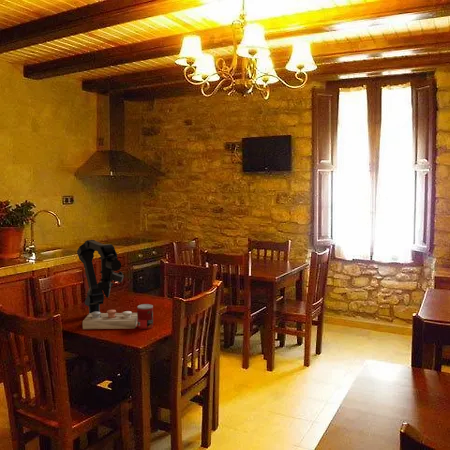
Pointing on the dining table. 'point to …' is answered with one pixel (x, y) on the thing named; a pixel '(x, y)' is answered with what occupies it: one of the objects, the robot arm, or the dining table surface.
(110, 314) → the terracotta plug
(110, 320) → the beech block
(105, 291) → the robot arm
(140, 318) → the canned food
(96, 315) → the grey plug
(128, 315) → the cream plug
